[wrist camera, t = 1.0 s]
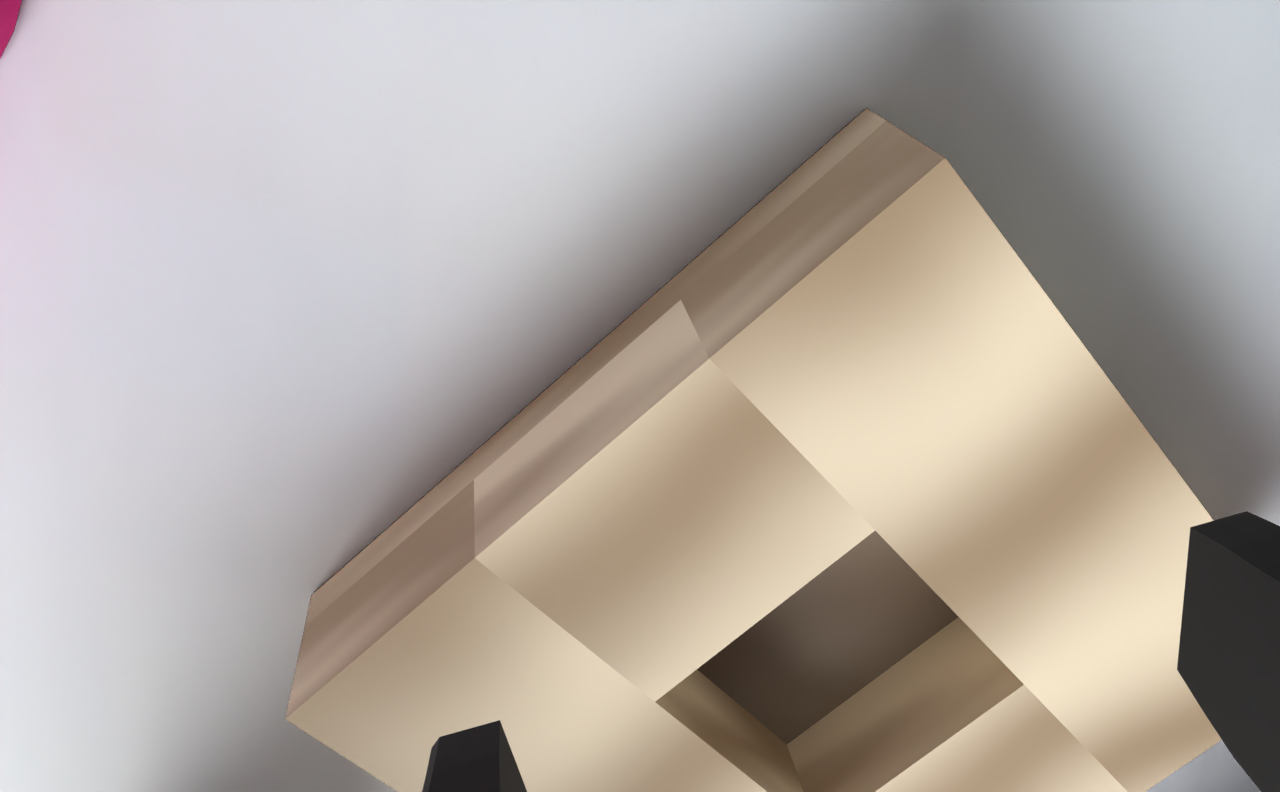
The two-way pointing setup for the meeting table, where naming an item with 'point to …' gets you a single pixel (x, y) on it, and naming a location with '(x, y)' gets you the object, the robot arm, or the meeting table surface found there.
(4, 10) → the pepper mill
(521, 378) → the meeting table surface
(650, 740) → the bore block
